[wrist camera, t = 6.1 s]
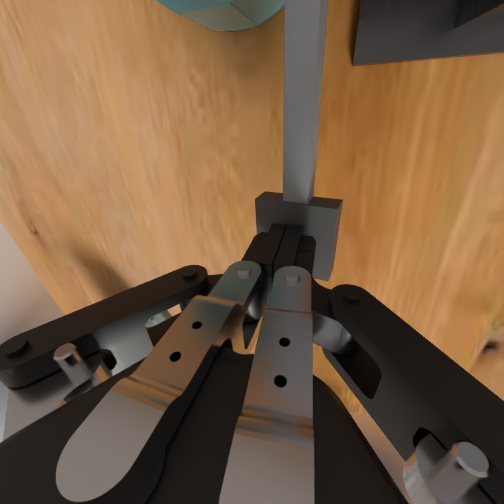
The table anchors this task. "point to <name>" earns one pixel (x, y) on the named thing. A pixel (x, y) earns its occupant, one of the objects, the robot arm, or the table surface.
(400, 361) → the robot arm
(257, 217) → the chute
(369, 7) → the stand
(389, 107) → the table surface
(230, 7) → the cup
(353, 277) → the table surface
